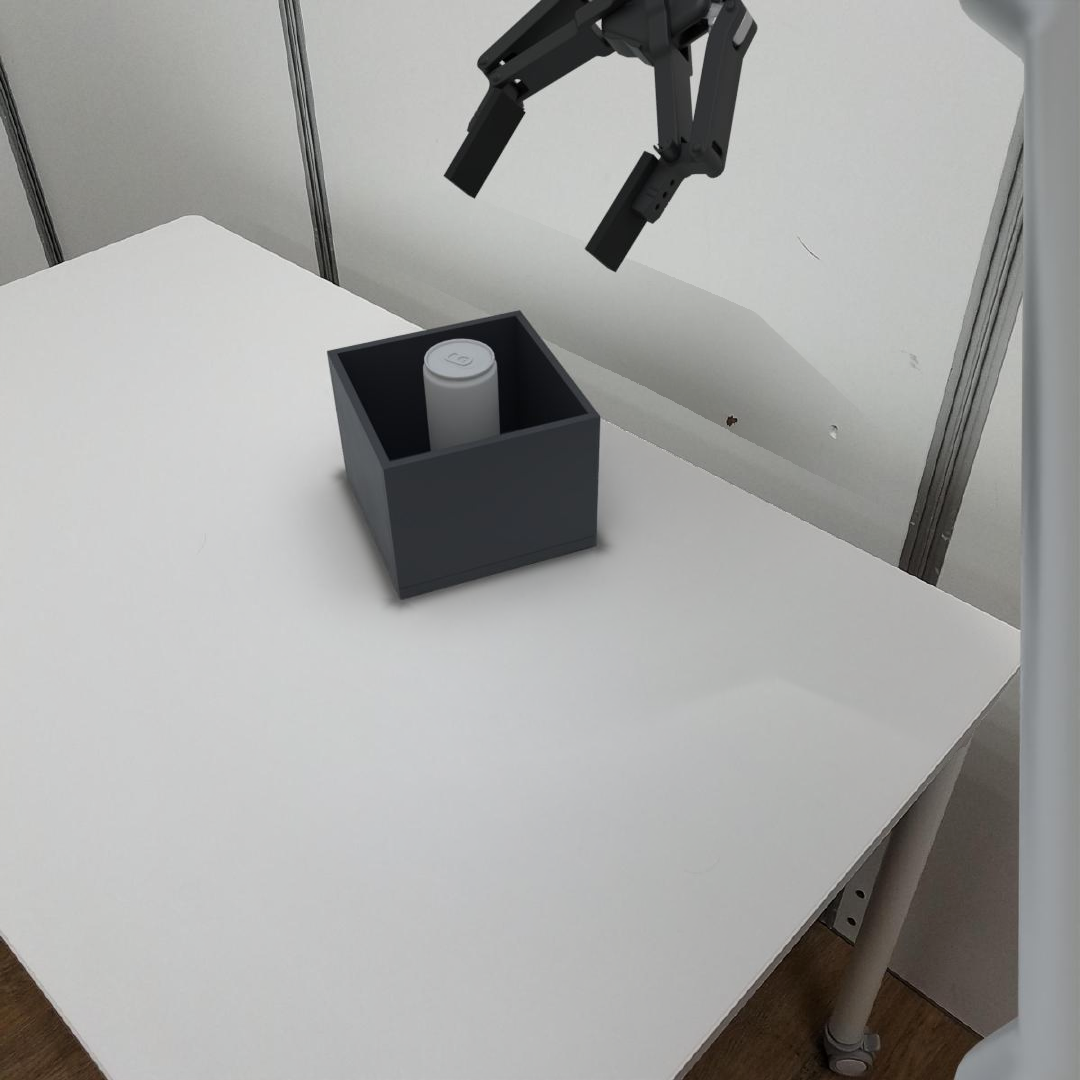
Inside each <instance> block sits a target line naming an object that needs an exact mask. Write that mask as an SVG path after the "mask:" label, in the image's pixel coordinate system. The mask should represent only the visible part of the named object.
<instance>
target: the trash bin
mask: <svg viewBox="0 0 1080 1080" xmlns="http://www.w3.org/2000/svg"><path fill="white" fill-rule="evenodd" d="M529 321H530V320H528V319H527V318H526V316H525V315H524V313H523V312H522V310H520V309H518V310H514V311H509V312H504V313H499V314H494V315H490V316H485V317H480V318H476V319H471V320H465V321H462V322H457V323H452V324H448V325H447V324H446V325H443V326H438V327H432V328H429V329H423V330H419V331H414V332H410V333H405V334H399V335H395V336H391V337H385V338H381V339H376V340H371V341H367V342H362V343H356V344H352V345H348V346H343V347H338V348H334V349H329V350H327V351H326V355H327V362H328V368H329V369H328V370H329V374H330V381H331V386H332V393H333V398H334V399H333V400H334V407H335V412H336V419H337V424H338V430H339V437H340V444H341V449H342V450H341V451H342V456H343V464H344V468H345V476H346V478H347V480H348V483H349V485H350V488H351V489H352V492H353V495H354V496H355V499H356V502H357V504H358V506H359V508H360V511H361V513H362V515H363V518H364V520H365V522H366V524H367V527H368V529H369V532H370V533H371V536H372V538H373V541H374V543H375V545H376V547H377V549H378V552H379V554H380V557H381V559H382V561H383V563H384V567H385V568H386V571H387V573H388V576H389V577H390V580H391V582H392V583H393V584H392V585H393V586H394V589H395V591H396V594H397V596H398V598H399V600H405V599H408V598H411V597H415V596H419V595H422V594H427V593H430V592H433V591H437V590H440V589H443V588H447V587H451V586H452V587H453V586H455V585H458V584H462V583H466V582H469V581H473V580H476V579H480V578H483V577H488V576H491V575H495V574H498V573H502V572H505V571H506V572H507V571H509V570H512V569H516V568H519V567H524V566H527V565H530V564H534V563H537V562H541V561H545V560H548V559H552V558H556V557H558V556H563V555H567V554H570V553H573V552H574V553H575V552H577V551H581V550H584V549H588V548H592V547H595V546H597V534H598V507H599V506H598V505H599V503H598V502H599V501H598V500H599V476H600V475H599V473H600V446H601V445H600V444H601V443H600V441H601V415H600V413H599V412H598V411H597V410H596V409H595V407H594V406H593V404H592V403H591V402H590V401H589V400H588V398H587V397H586V395H585V394H584V392H583V391H582V389H581V388H579V386H578V384H577V383H576V382H575V380H574V379H573V378H572V377H571V375H570V374H569V372H568V371H567V369H565V367H564V366H563V364H562V363H561V362H560V361H559V360H558V358H557V357H556V356H555V354H554V353H553V352H552V350H551V349H550V348H549V347H548V345H547V344H546V342H545V341H544V340H543V338H542V337H541V336H540V335H539V333H538V332H537V331H536V329H535V328H534V326H533V325H532V324H531V323H530V322H529ZM453 339H471V340H475V341H479V342H482V343H484V344H486V345H487V346H489V347H490V348H491V349H492V351H493V352H494V357H495V361H496V364H497V376H498V400H499V424H500V435H498V436H494V437H490V438H485V439H481V440H477V441H473V442H469V443H465V444H461V445H457V446H452V447H448V448H444V449H440V450H436V451H432V452H431V447H430V438H429V428H428V417H427V407H426V396H425V385H424V375H423V365H424V357H425V355H426V352H427V351H428V350H429V349H430V348H431V347H433V346H435V345H436V344H438V343H441V342H444V341H448V340H453Z"/></svg>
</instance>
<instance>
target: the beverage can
mask: <svg viewBox="0 0 1080 1080" xmlns="http://www.w3.org/2000/svg"><path fill="white" fill-rule="evenodd" d="M423 375H424V385H425V396H426V407H427V417H428V428H429V438H430V447H431V452H432V451H436V450H440V449H444V448H448V447H452V446H457V445H461V444H465V443H469V442H473V441H477V440H481V439H485V438H490V437H494V436H498V435H500V424H499V400H498V376H497V364H496V361H495V357H494V352H493V351H492V349H491V348H490V347H489V346H487V345H486V344H484V343H482V342H479V341H475V340H471V339H453V340H448V341H444V342H441V343H438V344H436V345H435V346H433V347H431V348H430V349H429V350H428V351H427V352H426V355H425V357H424V365H423Z"/></svg>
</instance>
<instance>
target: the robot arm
mask: <svg viewBox="0 0 1080 1080" xmlns="http://www.w3.org/2000/svg"><path fill="white" fill-rule="evenodd" d="M958 2H959V5H960V7H961V10H962V12H964V14H965V15H966V17H968V19H969V20H970V21H971V22H973V23H974V24H976V26H978V27H979V28H981V30H983V31H985V32H986V33H987V34H988V35H990V36H991V37H993V39H995V40H996V41H997V42H998V43H1000V44H1001V45H1003V46H1004V47H1005V48H1006V49H1008V50H1009V51H1011V52H1012V53H1013V54H1014V55H1015V56H1017V57H1018V58H1020V60H1021V62H1022V64H1023V161H1022V162H1023V163H1022V164H1023V169H1022V170H1023V171H1022V175H1023V176H1022V178H1023V180H1022V181H1023V182H1022V186H1023V187H1022V219H1023V220H1022V315H1021V316H1022V318H1021V319H1022V325H1021V327H1022V329H1021V331H1022V332H1021V333H1022V334H1021V335H1022V336H1021V337H1022V339H1021V340H1022V341H1021V344H1022V345H1021V352H1022V353H1021V359H1022V360H1021V480H1020V481H1021V483H1020V484H1021V487H1020V490H1021V491H1020V492H1021V493H1020V495H1021V497H1020V500H1021V501H1020V627H1019V628H1020V629H1019V631H1020V635H1019V637H1020V640H1019V646H1020V648H1019V649H1020V650H1019V651H1020V652H1019V653H1020V655H1019V657H1020V659H1019V664H1020V665H1019V668H1020V669H1019V783H1018V785H1019V788H1018V789H1019V791H1018V792H1019V794H1018V795H1019V797H1018V798H1019V799H1018V803H1019V805H1018V809H1019V810H1018V812H1019V813H1018V942H1017V943H1018V944H1017V945H1018V946H1017V947H1018V948H1017V949H1018V953H1017V954H1018V956H1017V957H1018V958H1017V959H1018V960H1017V962H1018V964H1017V966H1018V967H1017V980H1018V981H1017V1016H1016V1017H1015V1018H1013V1019H1012V1020H1010V1021H1008V1022H1007V1023H1005V1024H1004V1025H1002V1026H1001V1027H999V1028H998V1029H996V1030H995V1031H994V1032H992V1033H991V1034H989V1035H987V1036H986V1037H984V1038H982V1039H981V1040H980V1041H978V1042H977V1043H976V1044H975V1045H974V1046H973V1047H972V1048H971V1049H970V1050H968V1051H967V1052H966V1053H965V1055H964V1056H963V1058H961V1061H960V1062H959V1064H958V1066H957V1068H956V1072H955V1075H954V1078H953V1080H1080V0H958ZM599 21H601V22H600V26H599V25H598V24H597V22H599ZM757 32H758V24H757V23H756V20H755V19H754V17H753V15H752V14H751V12H750V11H749V9H748V8H747V6H746V5H745V4H744V2H743V1H742V0H539V1H538V2H537V3H536V4H535V5H534V6H533V7H532V8H530V10H528V11H527V12H526V13H525V14H524V15H523V16H521V18H520V19H519V20H517V21H516V22H515V23H514V25H512V26H511V27H510V28H508V30H507V31H506V32H505V33H503V34H502V35H501V36H500V37H499V38H498V39H497V40H495V42H494V43H493V44H491V46H490V47H488V48H487V49H486V50H485V51H484V52H483V53H482V54H481V55H480V56H479V57H478V59H477V61H476V66H477V68H478V69H479V71H481V72H482V73H483V75H484V76H485V78H486V79H487V80H488V83H489V86H488V89H487V91H486V92H485V95H484V96H483V98H482V100H481V102H480V103H479V105H478V107H477V109H476V110H475V112H474V114H473V116H472V117H471V119H470V121H469V122H468V125H467V128H466V132H467V135H466V136H465V138H464V140H463V142H462V143H461V145H460V147H459V148H458V150H457V151H456V154H455V155H454V156H453V159H452V160H451V162H450V163H449V165H448V167H447V169H446V170H445V172H444V174H443V177H444V178H445V179H447V180H448V181H449V182H450V183H451V184H453V185H454V186H455V187H456V188H458V189H459V190H460V191H462V193H464V194H465V195H467V196H469V197H470V198H472V199H476V197H477V196H478V194H479V193H480V191H481V189H482V188H483V186H484V184H485V182H486V181H487V179H488V177H489V175H490V174H491V172H492V171H493V169H494V167H495V165H496V164H497V163H498V161H499V159H500V157H501V156H502V154H503V152H504V150H505V149H506V147H507V145H508V144H509V142H510V141H511V139H512V137H513V135H514V133H515V131H516V130H517V129H518V126H519V125H520V123H521V121H522V120H523V118H524V117H525V115H526V111H525V110H526V109H525V103H524V101H526V100H528V99H529V98H531V97H532V96H534V95H535V94H537V93H539V92H540V91H542V90H544V89H545V88H547V87H548V86H550V85H553V84H554V83H555V82H557V81H558V80H560V79H562V78H563V77H565V76H567V75H568V74H570V73H572V72H573V71H575V70H577V69H578V68H580V67H581V66H583V65H584V64H586V63H588V62H589V61H591V60H593V59H594V58H597V57H600V58H606V57H609V56H610V55H612V54H614V53H617V54H618V55H619V56H623V57H624V58H629V59H631V58H632V59H633V58H635V59H639V60H640V61H641V62H642V63H643V64H644V65H647V66H649V67H652V68H653V74H654V89H655V91H654V92H655V93H654V94H655V109H656V127H657V128H656V129H657V142H658V143H656V144H657V145H655V144H653V145H652V147H653V150H654V151H655V152H656V154H658V155H659V158H658V157H657V156H656V155H655V154H653V153H652V152H649V151H647V150H643V152H642V154H641V156H640V157H639V158H638V160H637V162H636V163H635V165H634V167H633V168H632V170H631V172H630V173H629V175H628V177H627V178H626V180H625V181H624V183H623V185H622V187H621V188H620V190H619V192H618V193H617V195H616V196H615V199H614V200H613V201H612V203H611V205H610V206H609V208H608V209H607V211H606V213H605V215H604V216H603V218H602V220H601V221H600V222H599V224H598V226H597V228H596V229H595V231H594V232H593V234H592V235H591V237H590V239H589V241H588V242H587V243H586V245H585V247H584V250H585V251H586V252H587V253H589V254H590V255H591V256H592V257H593V258H594V259H596V260H597V261H598V262H599V263H600V264H602V265H603V267H605V268H606V269H608V270H610V271H612V272H614V273H617V271H618V269H619V268H620V266H621V265H622V263H623V262H624V260H625V258H626V257H627V255H628V254H629V252H630V251H631V249H632V247H633V245H634V244H635V242H636V240H637V239H638V237H640V234H641V232H642V231H643V229H644V228H645V226H646V224H647V222H648V223H650V224H652V225H654V224H655V223H656V222H657V221H658V220H659V219H660V218H661V217H662V215H663V213H664V211H665V210H666V208H667V207H668V205H669V203H670V202H671V200H672V198H673V197H674V196H675V194H676V192H677V191H678V189H679V187H680V186H681V185H682V183H683V181H684V180H685V179H687V178H689V177H691V176H693V175H706V176H707V178H710V179H715V178H718V177H720V176H721V175H722V174H723V173H724V171H725V168H726V164H727V157H728V151H729V146H730V140H731V133H732V127H733V121H734V115H735V109H736V104H737V98H738V91H739V86H740V79H741V74H742V68H743V62H744V58H745V56H746V54H747V52H748V50H749V48H750V46H751V44H752V42H753V40H754V38H755V36H756V34H757ZM707 34H708V37H707V40H706V45H705V50H704V55H703V62H702V67H701V71H700V72H701V73H700V78H699V84H698V89H697V90H698V91H697V96H696V101H695V106H694V107H695V108H694V113H693V103H692V88H691V87H692V86H691V77H693V74H694V68H693V55H692V54H693V53H692V44H693V43H694V42H697V40H699V39H701V38H702V37H703V36H705V35H707ZM501 62H503V64H502V63H501ZM517 80H519V81H517Z"/></svg>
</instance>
